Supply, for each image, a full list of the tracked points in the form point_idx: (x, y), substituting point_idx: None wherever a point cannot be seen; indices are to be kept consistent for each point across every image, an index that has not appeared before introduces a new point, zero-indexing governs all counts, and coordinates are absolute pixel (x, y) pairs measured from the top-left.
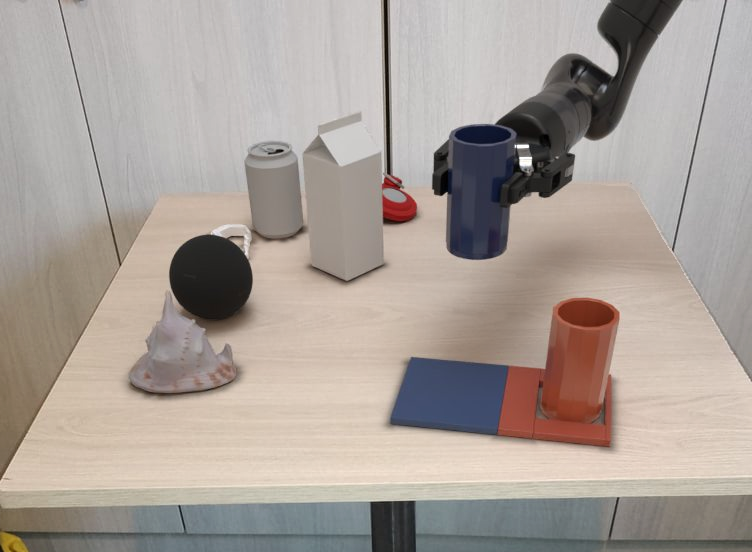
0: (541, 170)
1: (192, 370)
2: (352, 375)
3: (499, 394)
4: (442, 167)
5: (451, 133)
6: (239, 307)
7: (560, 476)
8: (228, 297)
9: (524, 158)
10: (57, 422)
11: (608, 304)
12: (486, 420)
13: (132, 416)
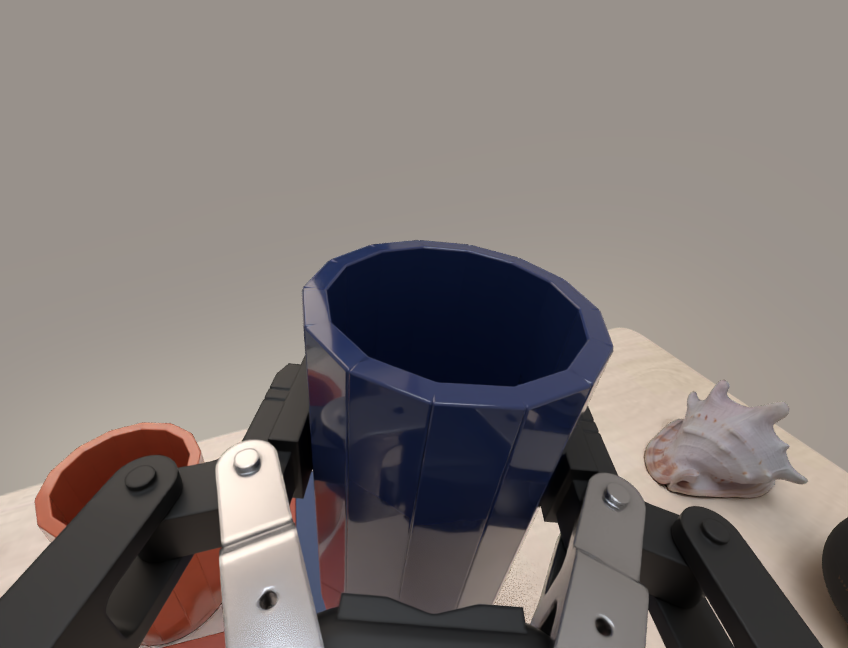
0: (175, 473)
1: (676, 436)
2: (538, 538)
3: (303, 552)
4: (601, 454)
5: (575, 292)
6: (835, 601)
7: (214, 438)
8: (831, 553)
9: (265, 535)
10: (688, 374)
11: (48, 524)
12: (313, 484)
13: (653, 395)
